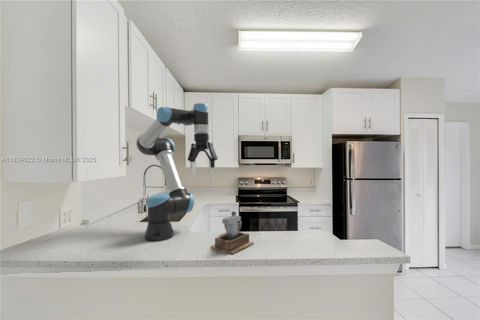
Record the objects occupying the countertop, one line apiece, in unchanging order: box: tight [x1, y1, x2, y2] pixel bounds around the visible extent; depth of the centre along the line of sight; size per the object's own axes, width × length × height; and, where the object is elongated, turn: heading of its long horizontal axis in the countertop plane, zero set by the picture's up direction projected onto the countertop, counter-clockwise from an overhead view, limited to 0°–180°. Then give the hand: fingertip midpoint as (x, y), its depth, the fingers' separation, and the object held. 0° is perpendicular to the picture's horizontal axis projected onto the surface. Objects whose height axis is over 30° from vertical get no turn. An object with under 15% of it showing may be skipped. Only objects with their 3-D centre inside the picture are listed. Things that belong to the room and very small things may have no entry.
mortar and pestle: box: [223, 211, 243, 232], centre depth 136 cm, size 11×9×12 cm
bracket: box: [221, 215, 242, 241], centre depth 116 cm, size 4×9×13 cm, turn 142°
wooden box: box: [210, 231, 255, 255], centre depth 116 cm, size 14×16×5 cm
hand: (202, 174), depth 126 cm, fingers open, 13 cm apart
